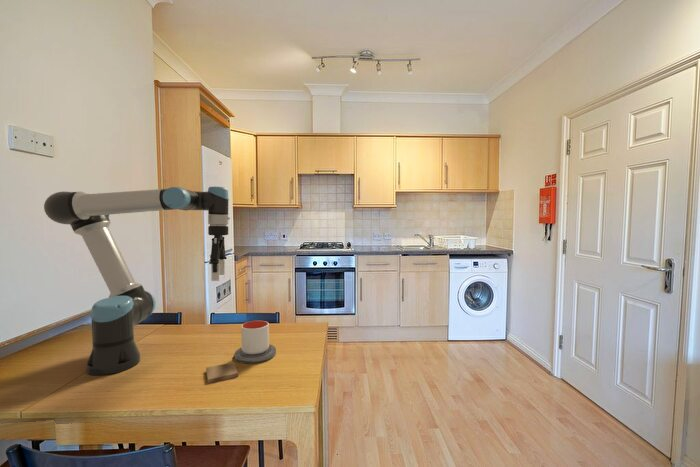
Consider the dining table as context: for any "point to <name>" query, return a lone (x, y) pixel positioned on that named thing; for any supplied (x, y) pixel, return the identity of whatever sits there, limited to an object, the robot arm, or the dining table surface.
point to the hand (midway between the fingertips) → (218, 277)
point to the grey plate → (255, 356)
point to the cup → (255, 337)
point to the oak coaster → (221, 372)
